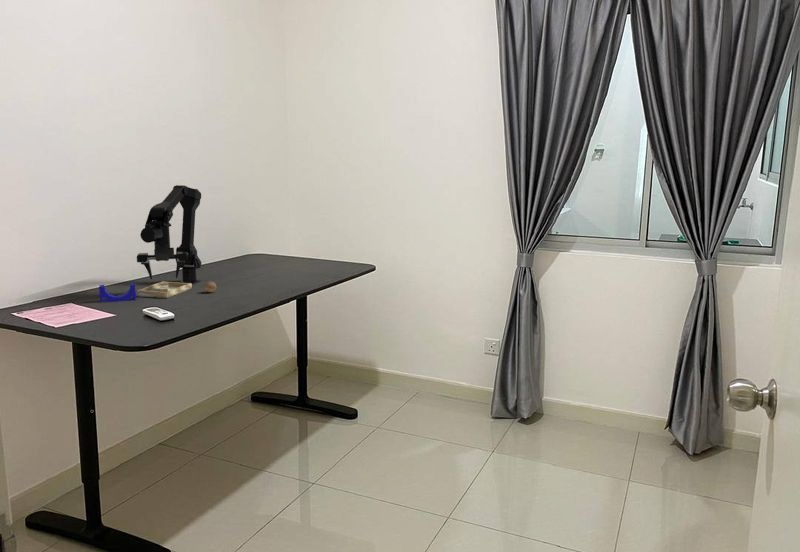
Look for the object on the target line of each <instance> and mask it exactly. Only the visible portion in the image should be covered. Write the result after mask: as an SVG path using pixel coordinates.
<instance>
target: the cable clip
mask: <svg viewBox="0 0 800 552" xmlns="http://www.w3.org/2000/svg"><path fill="white" fill-rule="evenodd" d="M98 290H99V292H98V293H99V302H100V303H112V302H113V303H114V302H127V301H128V302H130V301H136V299H137V296H136V291H137V290H136V283H134V282H133V283H130V284H129V289H128V290H127V291H126V292H124V293H122V294H118V295H113V294H110V293H109V292H108V290H107V289H106V287H105V284H100V285H99V287H98Z"/></svg>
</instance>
